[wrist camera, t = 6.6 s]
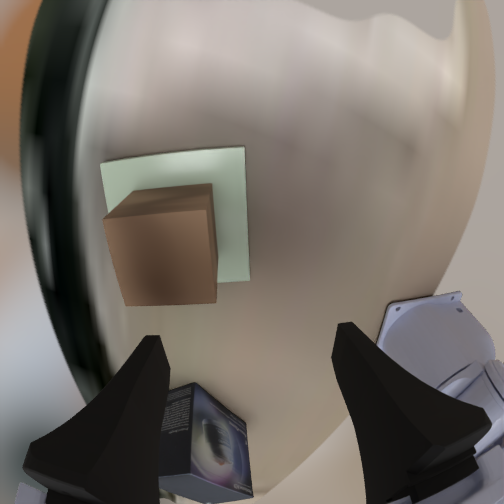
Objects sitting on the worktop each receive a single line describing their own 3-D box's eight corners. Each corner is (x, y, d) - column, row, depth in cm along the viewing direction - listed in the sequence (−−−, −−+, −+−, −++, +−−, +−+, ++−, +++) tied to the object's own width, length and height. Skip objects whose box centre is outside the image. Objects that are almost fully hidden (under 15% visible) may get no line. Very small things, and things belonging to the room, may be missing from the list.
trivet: (243, 145, 17) (244, 147, 16) (249, 274, 21) (249, 280, 20) (104, 161, 16) (100, 163, 16) (129, 281, 20) (126, 287, 20)
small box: (250, 422, 31) (257, 499, 21) (206, 434, 32) (206, 505, 22) (197, 379, 26) (192, 476, 17) (149, 395, 27) (136, 480, 18)
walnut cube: (212, 183, 17) (205, 209, 12) (218, 257, 19) (216, 303, 15) (132, 190, 17) (102, 219, 12) (146, 261, 19) (125, 306, 15)
